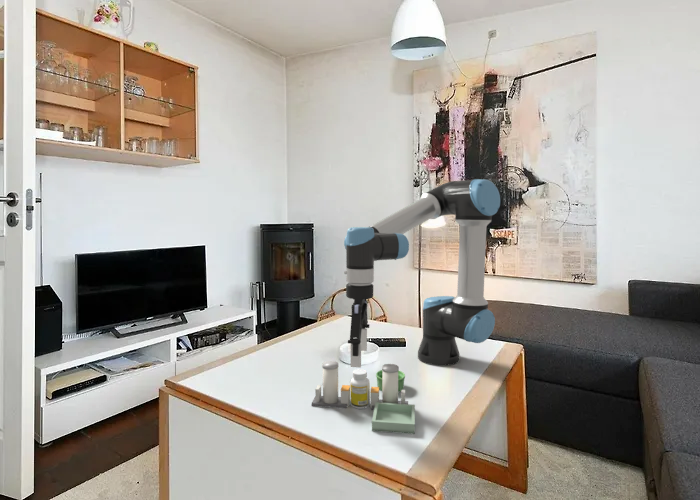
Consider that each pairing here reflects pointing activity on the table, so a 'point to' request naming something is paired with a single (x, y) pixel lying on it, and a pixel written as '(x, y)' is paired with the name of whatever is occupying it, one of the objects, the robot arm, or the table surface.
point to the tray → (394, 418)
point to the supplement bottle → (360, 389)
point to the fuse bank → (331, 388)
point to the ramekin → (400, 380)
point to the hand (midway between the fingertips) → (359, 358)
